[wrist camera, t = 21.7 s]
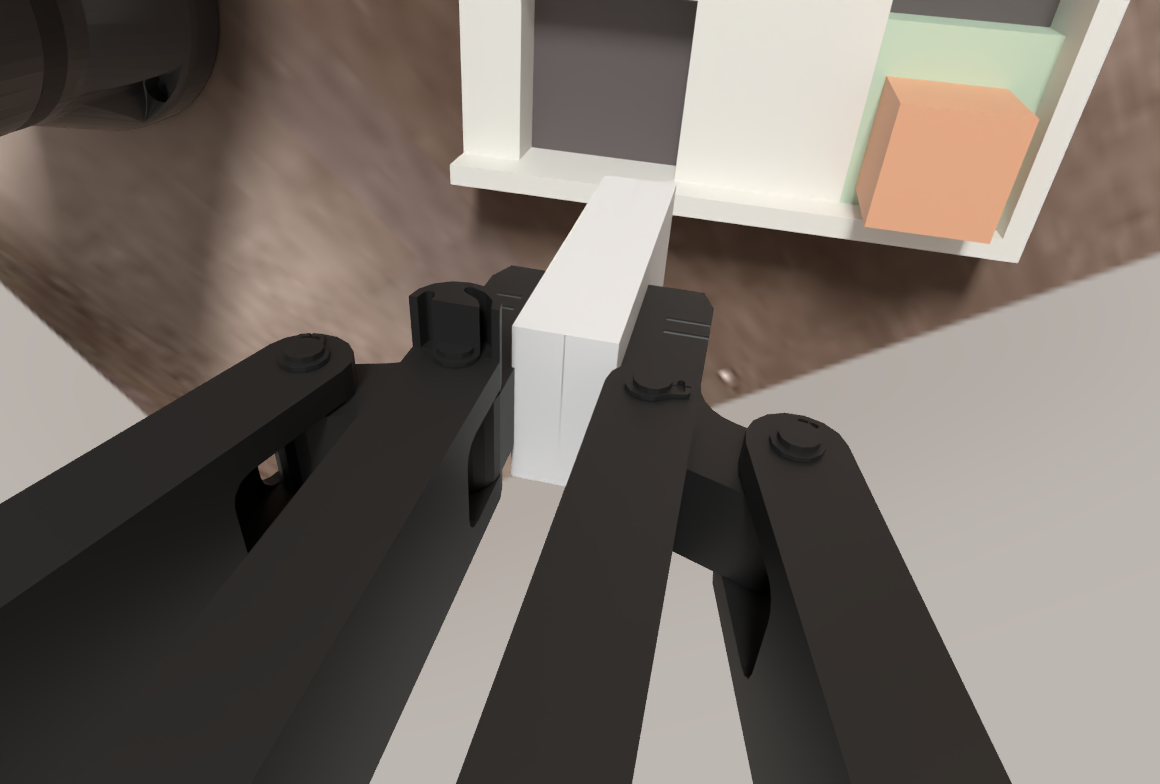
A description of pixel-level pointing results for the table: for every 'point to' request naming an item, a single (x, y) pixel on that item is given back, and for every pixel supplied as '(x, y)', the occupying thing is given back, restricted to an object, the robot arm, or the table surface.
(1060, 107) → the box
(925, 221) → the block
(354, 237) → the table surface
